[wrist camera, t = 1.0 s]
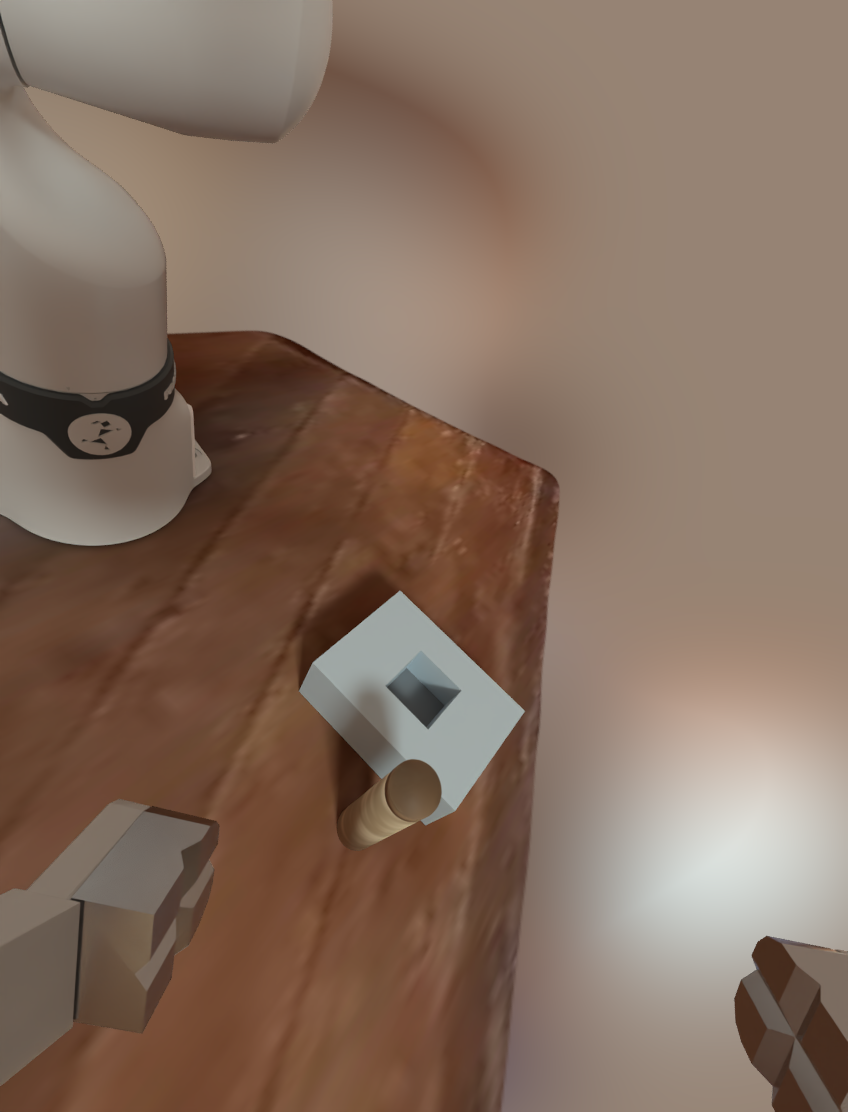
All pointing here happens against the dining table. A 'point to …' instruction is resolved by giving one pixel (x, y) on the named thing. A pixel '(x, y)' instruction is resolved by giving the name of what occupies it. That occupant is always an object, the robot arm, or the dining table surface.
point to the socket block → (412, 699)
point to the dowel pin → (390, 805)
